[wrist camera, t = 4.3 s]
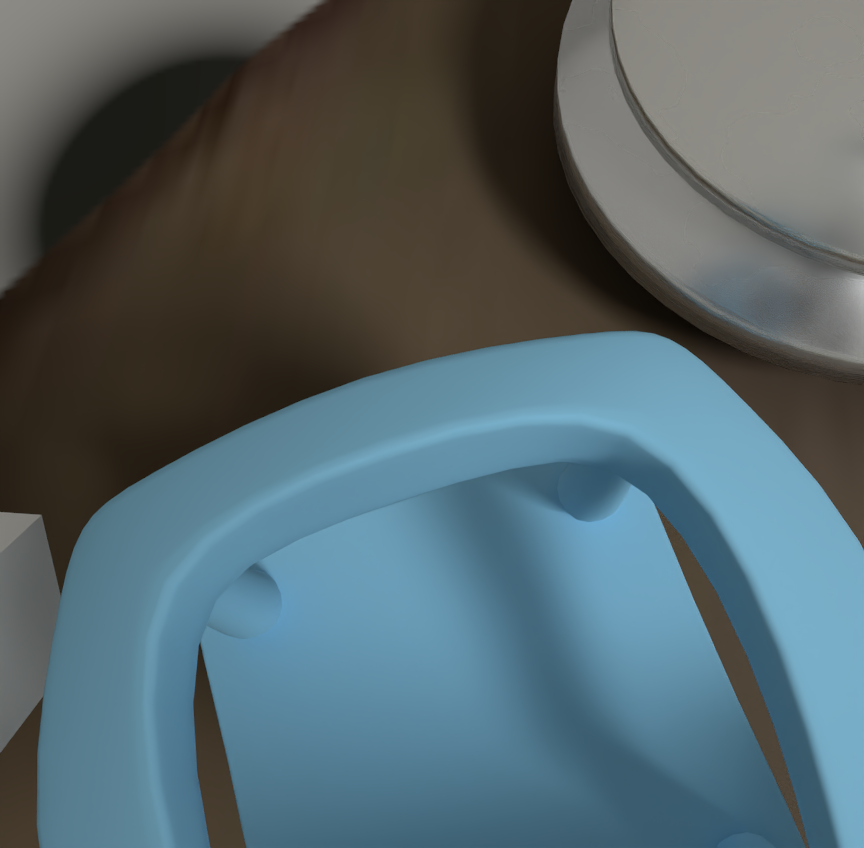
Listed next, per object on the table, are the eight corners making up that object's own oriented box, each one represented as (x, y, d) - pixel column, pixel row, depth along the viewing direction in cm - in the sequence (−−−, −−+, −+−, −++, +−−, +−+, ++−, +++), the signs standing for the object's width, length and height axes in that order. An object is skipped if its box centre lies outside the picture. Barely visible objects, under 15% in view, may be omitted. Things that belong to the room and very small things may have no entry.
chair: (361, 1001, 15) (-30, 2067, 3) (261, 588, 17) (-137, 393, 6) (731, 864, 15) (1512, 1390, 4) (575, 483, 18) (749, 118, 6)
